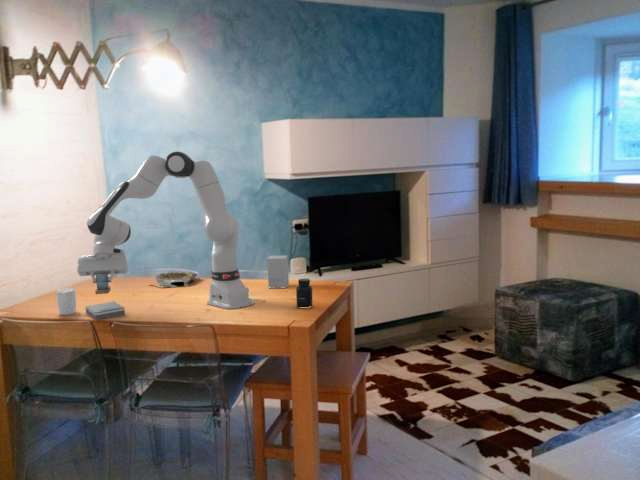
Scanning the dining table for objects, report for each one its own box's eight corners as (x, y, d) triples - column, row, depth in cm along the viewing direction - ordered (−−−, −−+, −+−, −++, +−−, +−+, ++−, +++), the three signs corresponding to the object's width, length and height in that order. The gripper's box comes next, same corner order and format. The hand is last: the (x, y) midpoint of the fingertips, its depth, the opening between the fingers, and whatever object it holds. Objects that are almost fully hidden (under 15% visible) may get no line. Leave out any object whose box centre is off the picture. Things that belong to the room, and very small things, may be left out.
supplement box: (289, 284, 297) (288, 255, 295) (286, 288, 288) (285, 258, 286) (271, 284, 298) (270, 255, 296) (268, 288, 289) (266, 258, 287)
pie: (140, 283, 311) (139, 274, 311) (186, 275, 330) (186, 267, 329) (166, 291, 291) (165, 281, 290) (213, 283, 309) (213, 273, 308)
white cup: (71, 309, 260) (69, 287, 259) (81, 312, 255) (79, 289, 254) (54, 313, 254) (52, 290, 253) (63, 316, 249) (61, 293, 248)
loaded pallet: (98, 290, 253) (96, 272, 252) (110, 289, 254) (109, 271, 253) (95, 294, 246) (94, 275, 245) (108, 293, 247) (106, 275, 246)
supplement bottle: (298, 309, 248) (297, 281, 247) (295, 305, 255) (294, 278, 253) (314, 308, 250) (313, 280, 248) (310, 304, 257) (309, 277, 255)
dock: (125, 314, 249) (124, 307, 249) (95, 320, 242) (94, 312, 242) (114, 308, 261) (113, 301, 260) (85, 313, 254) (85, 306, 253)
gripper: (77, 252, 252) (74, 279, 244) (127, 249, 256) (126, 276, 248) (80, 260, 257) (77, 287, 249) (129, 258, 261) (128, 284, 253)
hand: (102, 282), depth 249 cm, fingers closed on loaded pallet, 5 cm apart
